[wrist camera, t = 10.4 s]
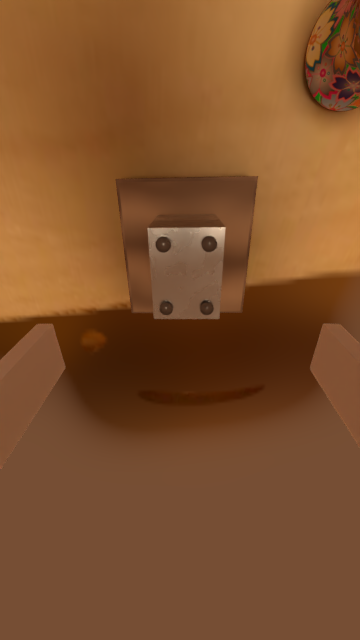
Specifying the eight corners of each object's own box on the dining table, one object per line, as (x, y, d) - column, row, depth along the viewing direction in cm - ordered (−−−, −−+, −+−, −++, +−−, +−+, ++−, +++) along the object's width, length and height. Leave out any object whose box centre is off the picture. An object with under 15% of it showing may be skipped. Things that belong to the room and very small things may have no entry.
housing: (157, 214, 27) (146, 229, 19) (215, 214, 27) (226, 228, 19) (161, 286, 31) (153, 321, 23) (211, 286, 31) (219, 320, 23)
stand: (124, 178, 29) (115, 179, 25) (249, 176, 29) (258, 176, 25) (137, 299, 36) (131, 313, 33) (236, 299, 36) (242, 313, 32)
